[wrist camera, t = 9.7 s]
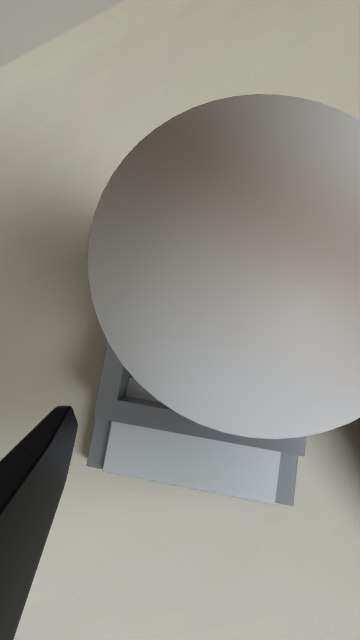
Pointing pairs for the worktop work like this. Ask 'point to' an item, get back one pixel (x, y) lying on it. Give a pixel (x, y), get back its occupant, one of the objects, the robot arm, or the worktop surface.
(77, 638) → the worktop surface
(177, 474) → the cradle
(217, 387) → the round tan cylinder
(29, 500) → the robot arm
